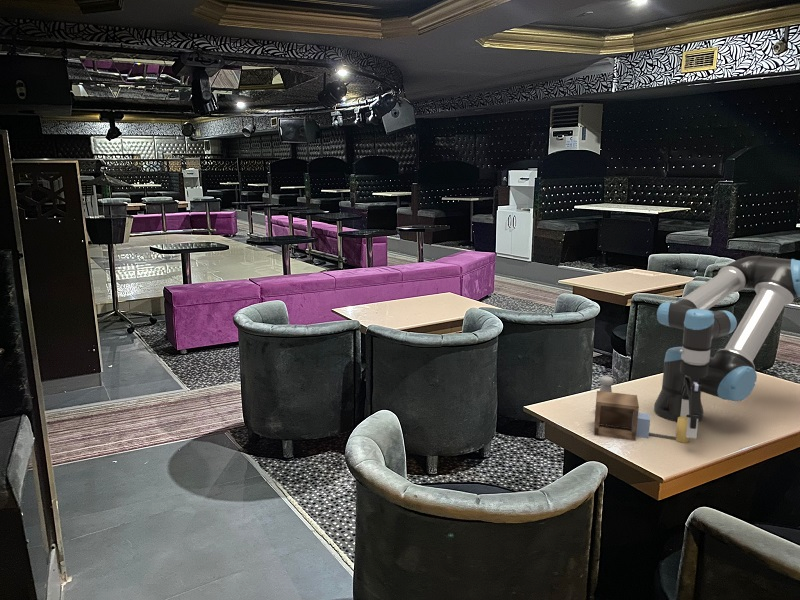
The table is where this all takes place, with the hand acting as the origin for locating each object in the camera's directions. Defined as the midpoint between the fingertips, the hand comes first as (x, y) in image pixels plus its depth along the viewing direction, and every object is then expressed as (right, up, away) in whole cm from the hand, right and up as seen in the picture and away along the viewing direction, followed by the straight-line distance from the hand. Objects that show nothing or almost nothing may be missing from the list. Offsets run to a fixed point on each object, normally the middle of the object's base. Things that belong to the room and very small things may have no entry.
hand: (687, 428), depth 180 cm
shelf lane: (-20, -2, +7) cm, 21 cm away
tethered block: (-7, -3, +3) cm, 9 cm away
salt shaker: (-19, 0, +21) cm, 28 cm away
